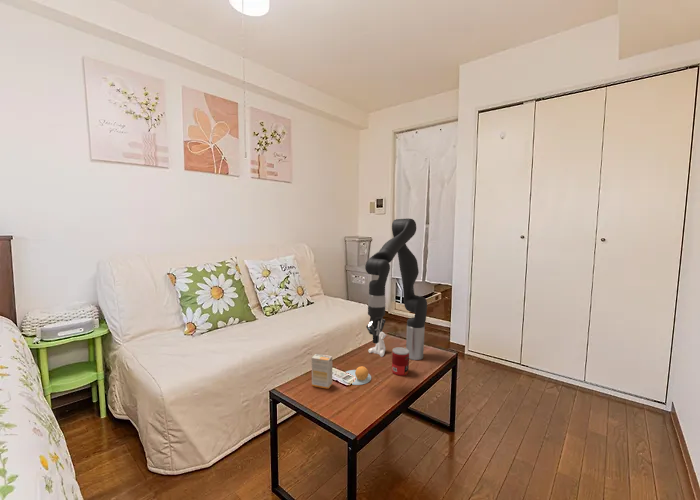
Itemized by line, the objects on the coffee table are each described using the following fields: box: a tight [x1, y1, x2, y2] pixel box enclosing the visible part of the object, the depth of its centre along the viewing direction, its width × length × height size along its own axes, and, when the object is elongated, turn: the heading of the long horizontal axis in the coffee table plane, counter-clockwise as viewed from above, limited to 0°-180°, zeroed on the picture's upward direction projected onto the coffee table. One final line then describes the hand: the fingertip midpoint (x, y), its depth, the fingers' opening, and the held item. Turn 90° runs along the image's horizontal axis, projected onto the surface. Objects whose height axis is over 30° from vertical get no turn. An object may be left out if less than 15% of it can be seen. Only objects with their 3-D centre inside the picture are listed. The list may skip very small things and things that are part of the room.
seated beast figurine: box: [367, 331, 387, 358], centre depth 179 cm, size 10×9×12 cm
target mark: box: [345, 369, 372, 386], centre depth 151 cm, size 14×14×1 cm
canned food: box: [391, 346, 410, 377], centre depth 156 cm, size 8×8×11 cm
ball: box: [355, 365, 369, 380], centre depth 149 cm, size 6×6×6 cm
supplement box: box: [311, 353, 333, 390], centre depth 143 cm, size 8×5×13 cm, turn 71°
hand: (375, 342), depth 143 cm, fingers closed
